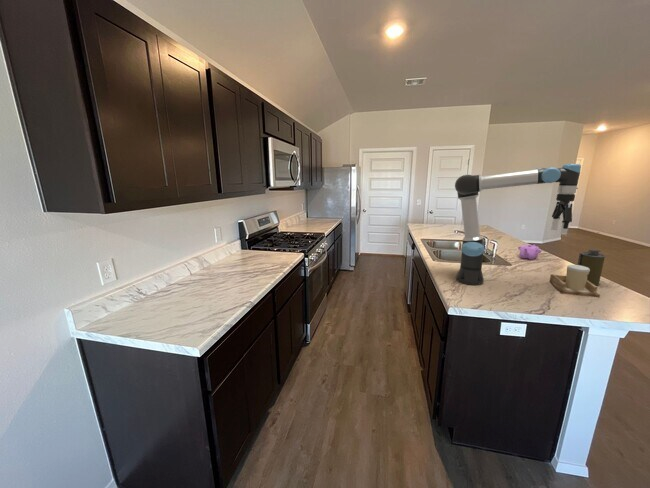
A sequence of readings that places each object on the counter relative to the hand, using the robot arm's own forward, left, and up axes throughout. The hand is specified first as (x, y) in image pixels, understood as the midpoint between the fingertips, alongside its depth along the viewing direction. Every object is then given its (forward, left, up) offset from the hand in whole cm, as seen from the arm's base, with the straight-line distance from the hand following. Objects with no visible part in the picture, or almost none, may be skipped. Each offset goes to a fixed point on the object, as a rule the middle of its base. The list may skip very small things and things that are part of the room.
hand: (558, 232), depth 154 cm
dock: (+10, -3, -32) cm, 33 cm away
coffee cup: (+10, -5, -30) cm, 32 cm away
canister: (+22, +12, -32) cm, 40 cm away
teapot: (+5, +61, -32) cm, 69 cm away
